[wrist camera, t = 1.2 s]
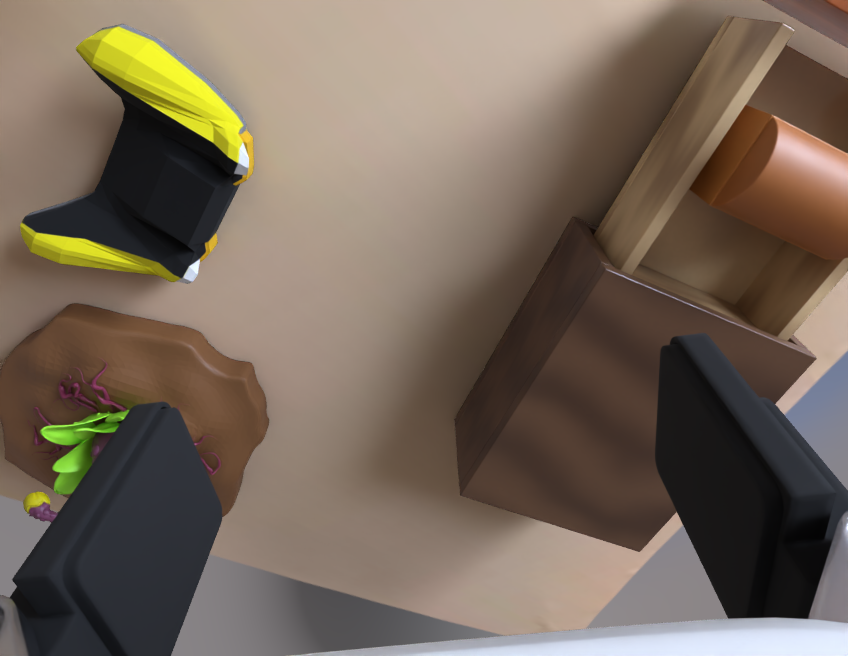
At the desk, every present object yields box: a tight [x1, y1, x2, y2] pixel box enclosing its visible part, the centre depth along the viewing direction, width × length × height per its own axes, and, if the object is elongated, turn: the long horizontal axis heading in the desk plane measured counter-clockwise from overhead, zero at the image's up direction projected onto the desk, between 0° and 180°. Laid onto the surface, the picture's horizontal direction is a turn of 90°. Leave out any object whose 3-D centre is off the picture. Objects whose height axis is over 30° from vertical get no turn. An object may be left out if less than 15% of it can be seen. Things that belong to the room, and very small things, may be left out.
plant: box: [0, 304, 269, 523], centre depth 43 cm, size 20×20×11 cm
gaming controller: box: [20, 24, 254, 284], centre depth 36 cm, size 15×6×10 cm
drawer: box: [593, 0, 848, 341], centre depth 33 cm, size 22×14×6 cm, turn 157°
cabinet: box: [454, 217, 816, 552], centre depth 42 cm, size 19×15×8 cm
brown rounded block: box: [689, 105, 848, 260], centre depth 33 cm, size 5×8×8 cm, turn 67°
